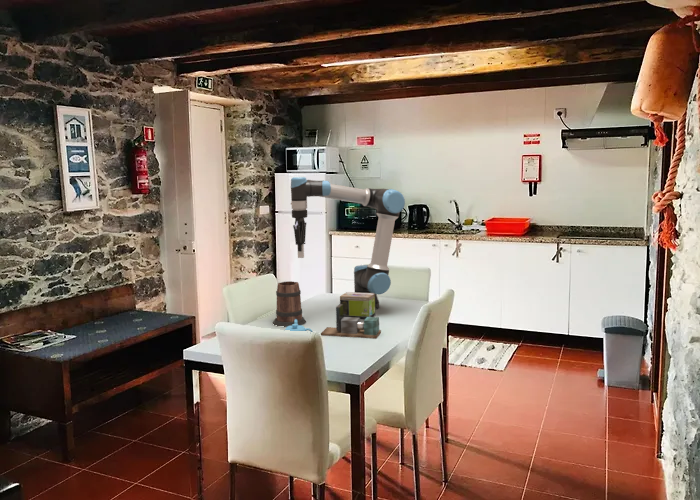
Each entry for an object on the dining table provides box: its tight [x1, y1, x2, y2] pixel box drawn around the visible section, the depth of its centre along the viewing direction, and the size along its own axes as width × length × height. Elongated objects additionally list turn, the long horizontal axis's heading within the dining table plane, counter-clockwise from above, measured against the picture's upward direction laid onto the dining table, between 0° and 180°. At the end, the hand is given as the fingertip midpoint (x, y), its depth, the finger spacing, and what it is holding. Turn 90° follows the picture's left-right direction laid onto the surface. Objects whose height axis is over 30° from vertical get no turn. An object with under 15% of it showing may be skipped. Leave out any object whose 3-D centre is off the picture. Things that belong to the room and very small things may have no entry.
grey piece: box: [335, 303, 364, 331], centre depth 270 cm, size 17×6×11 cm, turn 76°
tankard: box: [272, 281, 307, 328], centre depth 295 cm, size 24×17×20 cm
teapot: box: [284, 319, 314, 333], centre depth 249 cm, size 15×14×11 cm
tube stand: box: [320, 316, 382, 339], centre depth 271 cm, size 26×10×8 cm, turn 76°
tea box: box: [339, 291, 376, 322], centre depth 287 cm, size 15×10×15 cm
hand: (300, 257), depth 288 cm, fingers closed
